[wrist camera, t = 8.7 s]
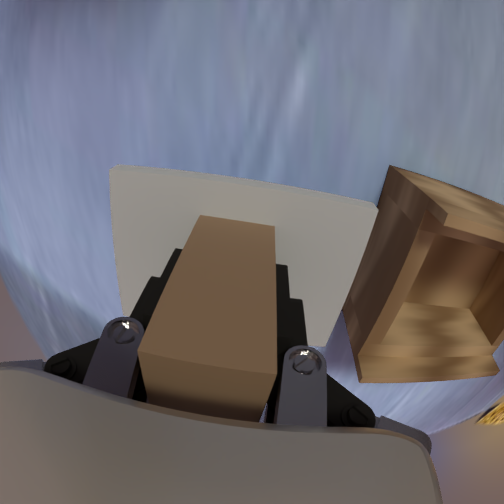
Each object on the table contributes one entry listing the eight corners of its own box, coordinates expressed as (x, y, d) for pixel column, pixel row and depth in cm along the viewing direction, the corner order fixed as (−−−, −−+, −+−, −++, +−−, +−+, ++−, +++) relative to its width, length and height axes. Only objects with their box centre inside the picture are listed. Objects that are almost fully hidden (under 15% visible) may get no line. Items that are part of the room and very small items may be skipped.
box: (517, 211, 15) (571, 259, 10) (464, 316, 20) (496, 375, 15) (389, 164, 15) (447, 213, 9) (341, 304, 20) (358, 382, 14)
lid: (372, 202, 12) (462, 336, 5) (323, 336, 16) (339, 467, 9) (117, 164, 12) (-11, 261, 5) (128, 306, 16) (71, 423, 9)
